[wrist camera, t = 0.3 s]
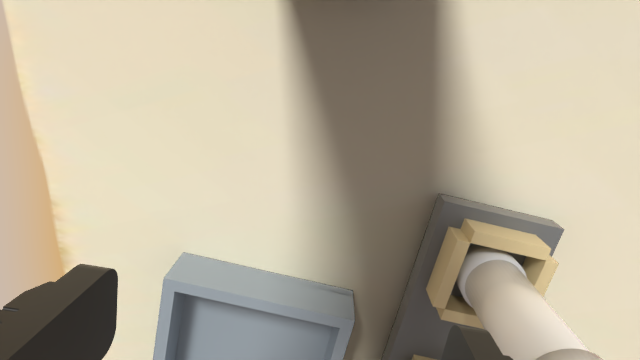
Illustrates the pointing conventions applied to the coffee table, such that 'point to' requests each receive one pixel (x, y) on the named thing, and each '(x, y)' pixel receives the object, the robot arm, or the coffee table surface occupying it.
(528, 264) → the board
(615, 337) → the coffee table surface
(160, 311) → the parts tray
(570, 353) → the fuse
